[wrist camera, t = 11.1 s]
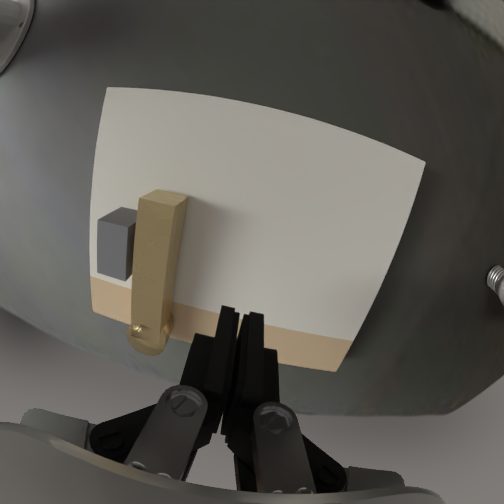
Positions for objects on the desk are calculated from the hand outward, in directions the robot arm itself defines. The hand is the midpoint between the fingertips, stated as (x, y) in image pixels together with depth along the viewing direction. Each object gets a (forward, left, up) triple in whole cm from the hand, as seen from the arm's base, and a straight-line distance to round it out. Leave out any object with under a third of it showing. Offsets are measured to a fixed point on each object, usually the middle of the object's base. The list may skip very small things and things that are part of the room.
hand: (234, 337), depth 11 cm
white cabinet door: (-1, -1, -13) cm, 13 cm away
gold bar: (-6, -4, -10) cm, 12 cm away
